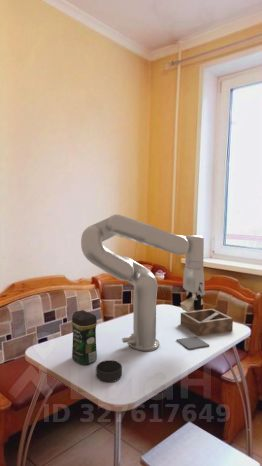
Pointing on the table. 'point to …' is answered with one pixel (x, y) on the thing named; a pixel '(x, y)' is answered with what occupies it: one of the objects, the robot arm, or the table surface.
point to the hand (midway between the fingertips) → (193, 306)
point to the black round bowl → (109, 371)
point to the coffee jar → (84, 337)
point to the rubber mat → (192, 342)
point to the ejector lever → (210, 317)
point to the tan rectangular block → (189, 304)
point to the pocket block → (206, 322)
